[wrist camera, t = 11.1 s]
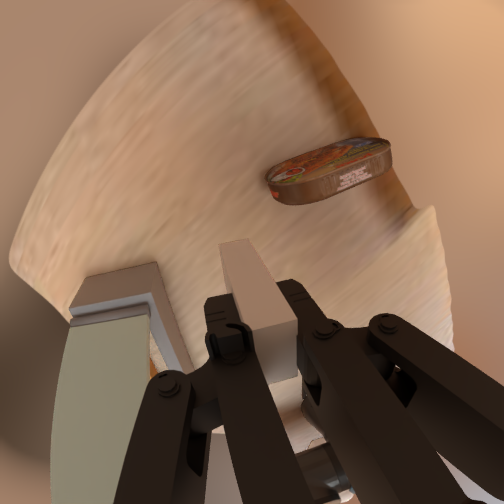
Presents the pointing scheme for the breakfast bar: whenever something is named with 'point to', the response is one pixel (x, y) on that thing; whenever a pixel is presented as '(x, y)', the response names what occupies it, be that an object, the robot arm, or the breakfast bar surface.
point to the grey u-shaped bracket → (131, 295)
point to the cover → (98, 403)
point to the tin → (329, 170)
